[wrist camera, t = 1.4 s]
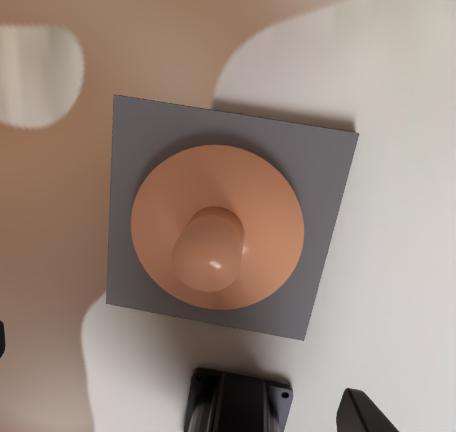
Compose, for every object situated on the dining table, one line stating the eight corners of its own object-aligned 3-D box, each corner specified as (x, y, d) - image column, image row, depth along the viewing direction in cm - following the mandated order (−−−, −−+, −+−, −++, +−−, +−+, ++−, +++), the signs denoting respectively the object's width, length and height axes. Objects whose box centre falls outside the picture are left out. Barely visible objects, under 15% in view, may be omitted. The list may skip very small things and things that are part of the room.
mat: (302, 334, 20) (304, 340, 20) (110, 298, 21) (106, 303, 20) (356, 132, 17) (359, 133, 16) (118, 95, 17) (113, 94, 17)
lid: (284, 314, 19) (289, 364, 16) (131, 287, 20) (101, 329, 16) (319, 159, 17) (337, 174, 13) (141, 130, 17) (106, 137, 13)
